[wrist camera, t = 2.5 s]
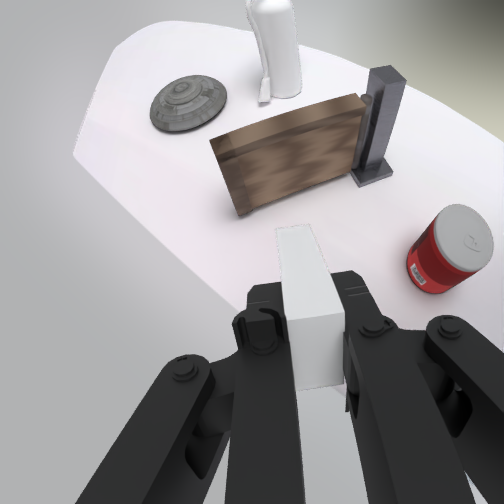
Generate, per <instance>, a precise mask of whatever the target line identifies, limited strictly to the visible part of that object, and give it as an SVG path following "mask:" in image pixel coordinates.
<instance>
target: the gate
mask: <svg viewBox="0 0 504 504" xmlns="http://www.w3.org/2000/svg"><path fill="white" fill-rule="evenodd" d="M372 100H373V98H372V97H371V96H370V95H368V94H363V95H361V98H359V97H358V95H357V94H356V93H353V94H349V95H345V96H342V97H338V98H334V99H330V100H327V101H323V102H320V103H316V104H313V105H309V106H306V107H303V108H299V109H296V110H293V111H290V112H286V113H283V114H280V115H277V116H274V117H271V118H268V119H265V120H262V121H259V122H256V123H254V124H251V125H248V126H245V127H242V128H240V129H237V130H234V131H231V132H229V133H226V134H224V135H221V136H218V137H216V138H213V139H211V140H209V141H210V144H211V146H212V149H213V151H214V154H215V157H216V159H217V162H218V164H219V167H220V170H221V172H222V175H223V177H224V180H225V183H226V185H227V188H228V190H229V193H230V196H231V198H232V201H233V203H234V206H235V208H236V211H237V213H238V216H240V215H243V214H245V213H248V212H251V211H253V210H252V209H253V208H255V207H258V206H260V205H263V204H266V203H268V202H271V201H273V200H276V199H278V198H281V197H284V196H286V195H289V194H291V193H294V192H297V191H299V190H302V189H305V188H307V187H310V186H313V185H315V184H318V183H321V182H323V181H326V180H329V179H332V178H334V177H337V176H340V175H342V174H345V173H348V172H351V168H352V169H356V168H357V167H358V164H359V159H360V155H361V151H362V147H363V142H364V138H365V133H366V129H367V124H368V120H369V115H370V110H371V105H372Z"/></svg>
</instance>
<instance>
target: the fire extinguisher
mask: <svg viewBox="0 0 504 504" xmlns="http://www.w3.org/2000/svg"><path fill="white" fill-rule="evenodd" d="M251 1H252V0H246V10H247V18H248V20H249V22H250V25H251V27H252V29H253V31H254V34H255V37H256V40H257V44H258V48H259V53H260V57H261V62H262V67H263V71H264V77H263V78H262V83H261V88H260V94H259V101H258V102H270V97H271V95H272V96H274V97H278V98H281V99H284V98H290V97H294V96H295V95H297V94H298V93H300V92H301V88H302V78H301V68H300V58H299V49H298V40H297V32H296V25H295V16H294V8H293V4H292V2H291V1H290V0H254V1H253V3H252V5H251Z"/></svg>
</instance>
